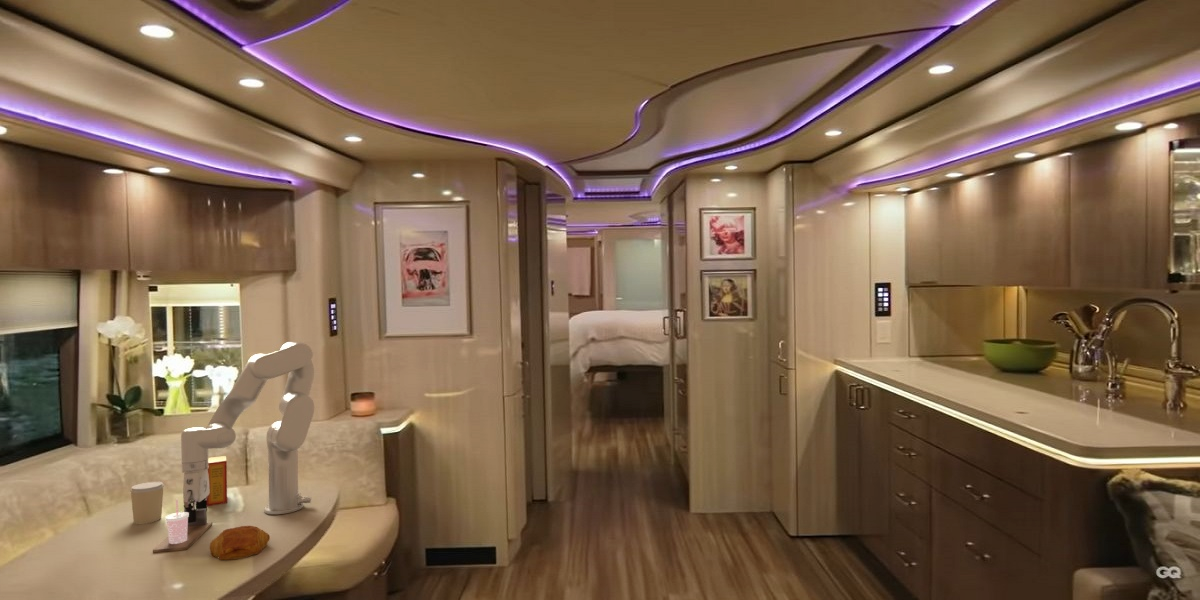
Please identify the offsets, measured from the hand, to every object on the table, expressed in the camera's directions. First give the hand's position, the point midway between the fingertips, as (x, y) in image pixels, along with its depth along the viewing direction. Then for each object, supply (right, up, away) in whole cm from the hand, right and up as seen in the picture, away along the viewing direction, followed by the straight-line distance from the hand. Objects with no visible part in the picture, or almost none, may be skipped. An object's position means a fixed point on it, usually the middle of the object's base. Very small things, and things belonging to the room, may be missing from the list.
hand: (196, 517), depth 214 cm
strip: (+2, -3, -10) cm, 10 cm away
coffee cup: (-21, -4, +8) cm, 23 cm away
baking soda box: (-10, -4, +28) cm, 30 cm away
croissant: (+26, -4, -21) cm, 34 cm away
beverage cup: (+3, -4, -14) cm, 15 cm away
